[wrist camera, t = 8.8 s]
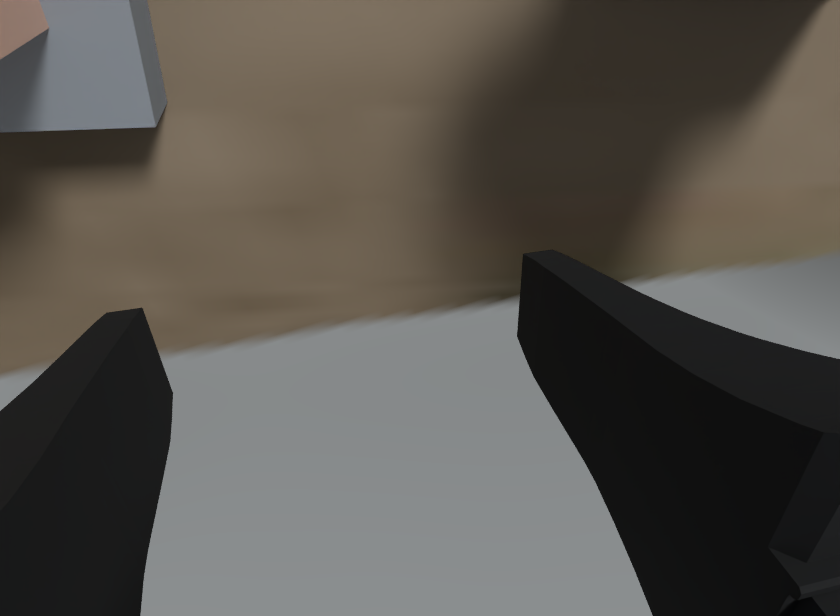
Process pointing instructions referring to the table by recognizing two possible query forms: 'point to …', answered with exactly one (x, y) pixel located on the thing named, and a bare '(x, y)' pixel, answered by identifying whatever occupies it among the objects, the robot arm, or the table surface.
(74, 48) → the slate block
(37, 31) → the terracotta cube
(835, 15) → the table surface
